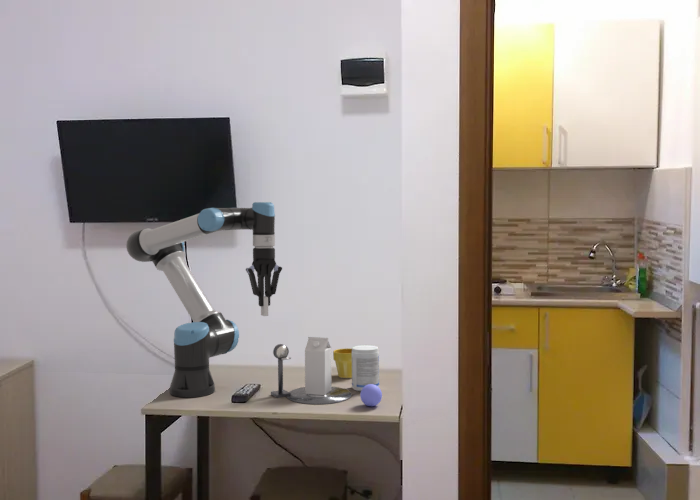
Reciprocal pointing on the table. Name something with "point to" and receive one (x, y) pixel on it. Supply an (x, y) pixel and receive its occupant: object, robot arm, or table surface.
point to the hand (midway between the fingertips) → (264, 315)
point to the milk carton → (317, 366)
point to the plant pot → (343, 362)
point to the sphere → (371, 395)
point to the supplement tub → (365, 366)
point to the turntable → (319, 396)
